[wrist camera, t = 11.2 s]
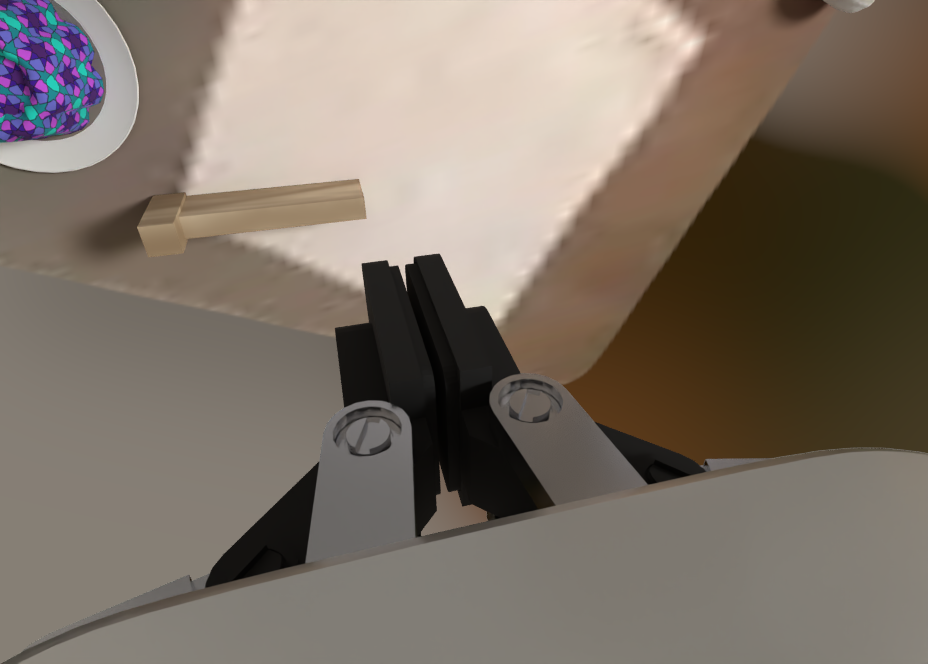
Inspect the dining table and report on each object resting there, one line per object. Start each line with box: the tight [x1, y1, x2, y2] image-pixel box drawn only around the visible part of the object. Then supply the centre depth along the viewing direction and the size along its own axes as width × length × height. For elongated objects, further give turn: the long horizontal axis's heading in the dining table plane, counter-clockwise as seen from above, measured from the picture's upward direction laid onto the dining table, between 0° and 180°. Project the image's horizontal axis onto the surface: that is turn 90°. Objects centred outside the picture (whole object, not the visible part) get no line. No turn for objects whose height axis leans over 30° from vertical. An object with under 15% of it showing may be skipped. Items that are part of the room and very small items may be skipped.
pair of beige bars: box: [137, 179, 366, 257], centre depth 32 cm, size 18×14×5 cm
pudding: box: [0, 0, 139, 173], centre depth 29 cm, size 12×12×5 cm
